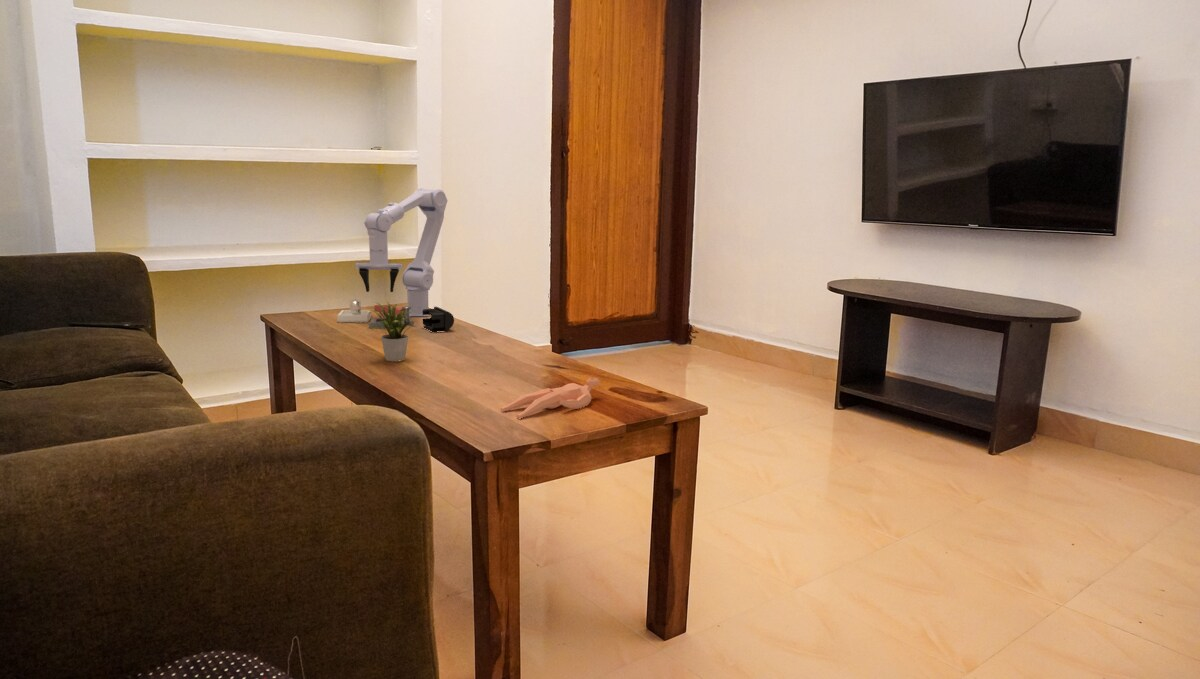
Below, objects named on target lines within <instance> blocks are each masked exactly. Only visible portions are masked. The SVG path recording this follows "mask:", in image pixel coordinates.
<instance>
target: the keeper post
mask: <svg viewBox="0 0 1200 679" xmlns="http://www.w3.org/2000/svg"><path fill="white" fill-rule="evenodd" d="M407 307H408V306H407V305H406V306H401V308H402V309H403V310H404V312H405V310H406V309H407ZM410 309H411V307H408V309H407V312H406V314H405V315H404V317H403V319H405V318H406V319H407V320H406V319H405V320H404V322H402V326H403V325H404V324H405V323H409V322H412V323H411V324H409V325H408V326H414V321H413V320H411V317H412V316H409V315H408V314H409V310H410ZM407 315H408V316H407Z"/></svg>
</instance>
